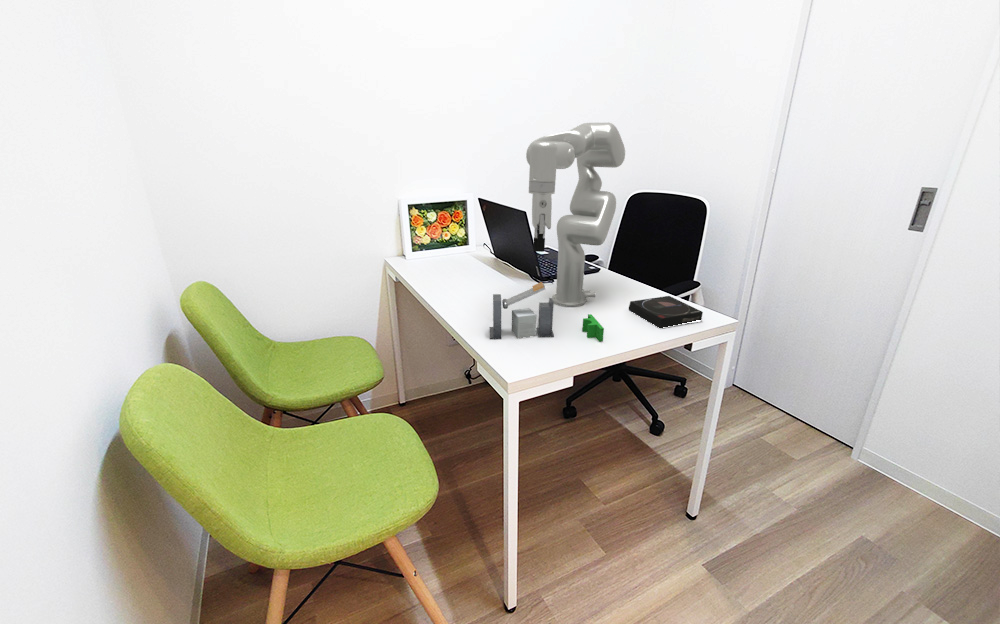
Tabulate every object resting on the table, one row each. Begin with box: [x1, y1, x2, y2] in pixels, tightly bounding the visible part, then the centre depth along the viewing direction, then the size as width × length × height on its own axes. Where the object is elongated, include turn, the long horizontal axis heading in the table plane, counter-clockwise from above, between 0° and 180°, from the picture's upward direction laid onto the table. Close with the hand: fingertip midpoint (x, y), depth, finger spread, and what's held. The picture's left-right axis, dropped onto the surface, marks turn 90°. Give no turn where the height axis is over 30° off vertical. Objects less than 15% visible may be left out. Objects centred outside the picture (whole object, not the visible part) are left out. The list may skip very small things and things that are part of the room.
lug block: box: [536, 297, 555, 338], centre depth 136 cm, size 5×6×11 cm
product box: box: [511, 307, 537, 339], centre depth 137 cm, size 6×6×7 cm
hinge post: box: [489, 293, 502, 340], centre depth 136 cm, size 4×8×12 cm, turn 2°
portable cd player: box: [628, 295, 704, 329], centre depth 151 cm, size 16×17×4 cm
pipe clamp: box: [581, 313, 605, 343], centre depth 137 cm, size 11×4×5 cm, turn 8°
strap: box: [501, 281, 546, 310], centre depth 134 cm, size 14×4×2 cm, turn 92°
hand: (538, 250), depth 133 cm, fingers closed
